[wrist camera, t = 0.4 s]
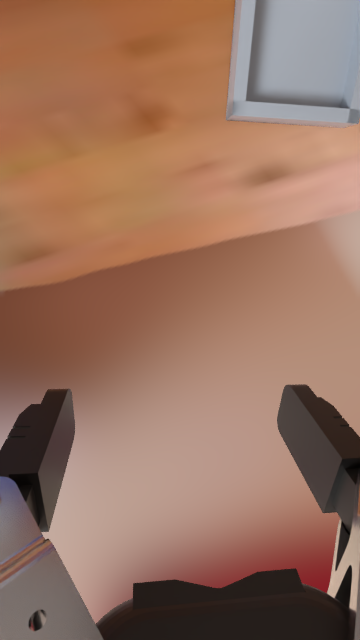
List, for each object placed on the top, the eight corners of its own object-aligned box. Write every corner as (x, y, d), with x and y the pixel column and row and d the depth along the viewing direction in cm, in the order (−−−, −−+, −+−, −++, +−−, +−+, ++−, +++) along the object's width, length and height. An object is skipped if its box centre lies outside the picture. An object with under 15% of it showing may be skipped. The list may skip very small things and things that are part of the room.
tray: (244, -106, 26) (253, -134, 24) (388, -85, 27) (410, -109, 25) (225, 120, 32) (232, 115, 30) (343, 127, 34) (358, 123, 31)
